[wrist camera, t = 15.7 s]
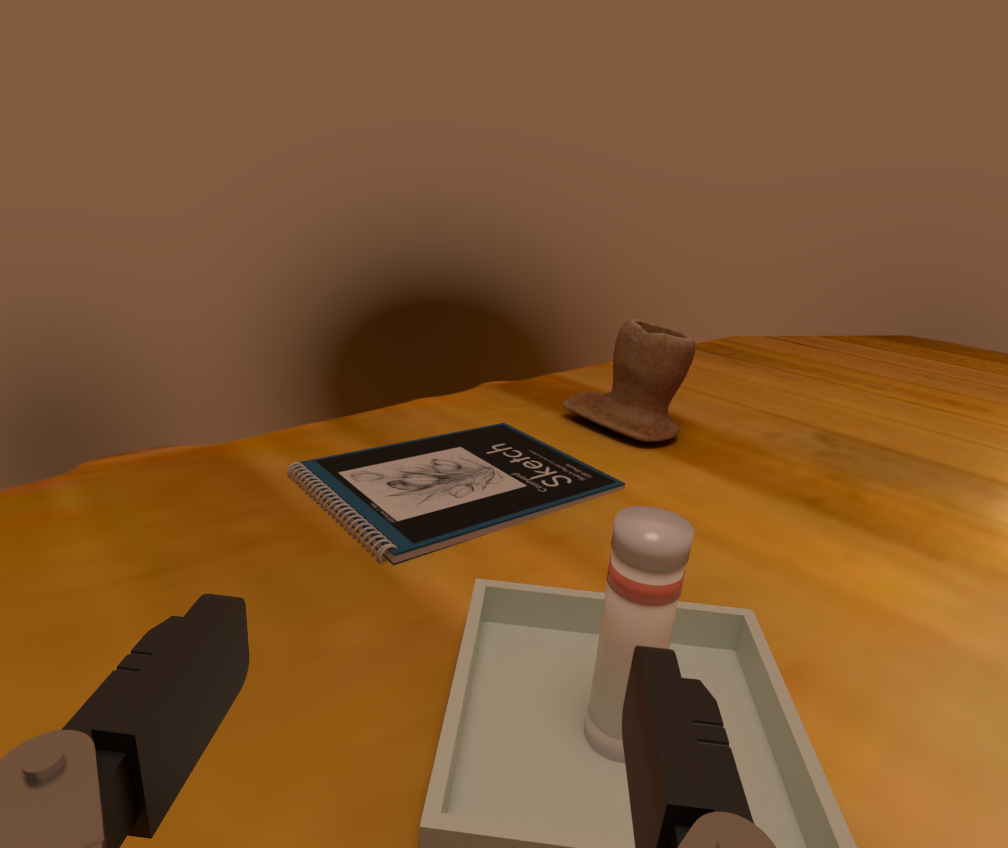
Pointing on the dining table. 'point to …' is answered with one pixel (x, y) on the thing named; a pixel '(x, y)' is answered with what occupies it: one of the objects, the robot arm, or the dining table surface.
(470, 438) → the sketchbook
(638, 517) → the fuse
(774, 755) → the parts tray
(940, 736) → the dining table surface
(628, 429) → the stone cup
